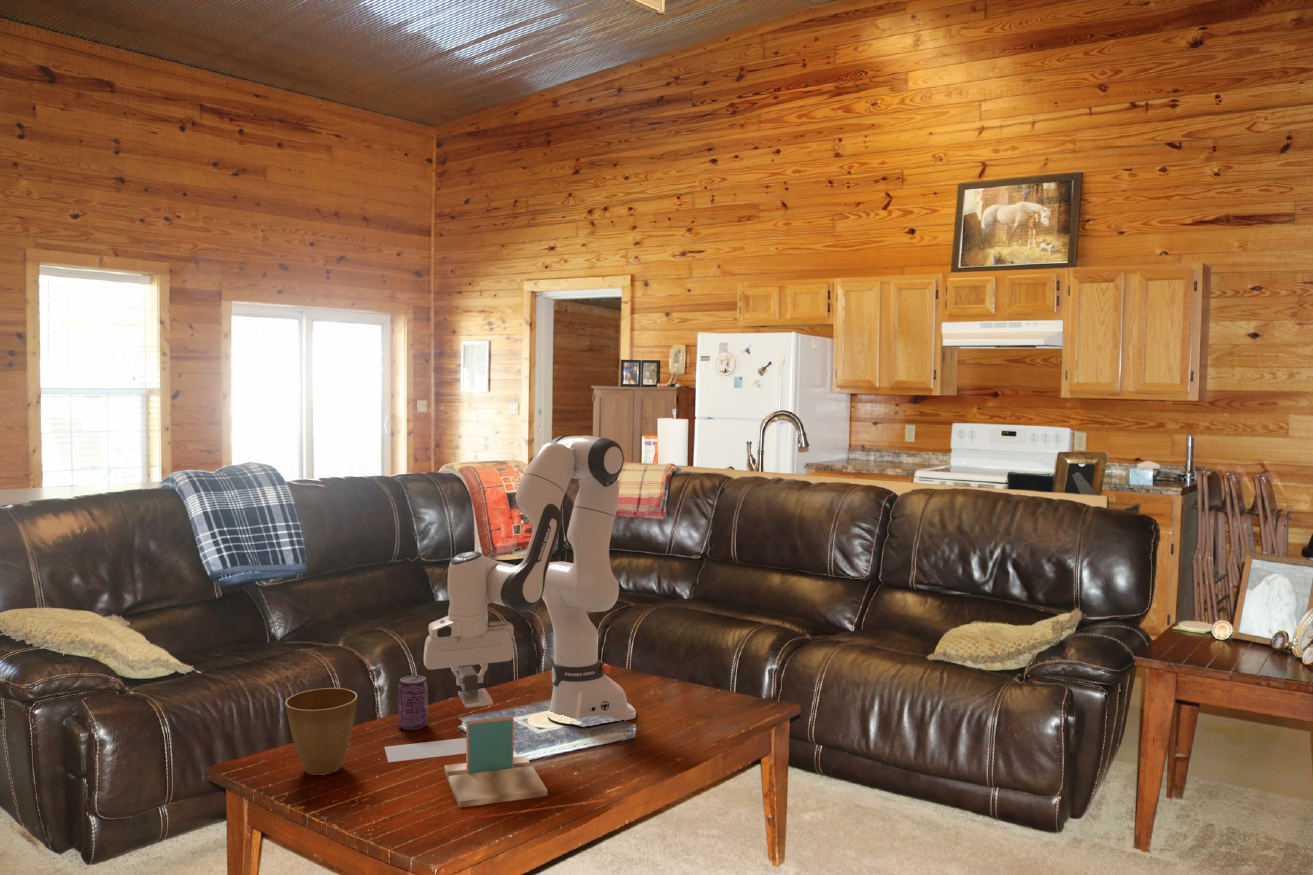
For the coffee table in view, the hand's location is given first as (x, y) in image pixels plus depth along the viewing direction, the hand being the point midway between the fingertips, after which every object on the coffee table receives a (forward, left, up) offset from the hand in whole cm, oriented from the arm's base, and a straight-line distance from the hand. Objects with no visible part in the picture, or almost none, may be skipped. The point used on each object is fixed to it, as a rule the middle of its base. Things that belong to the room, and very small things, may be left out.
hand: (469, 683), depth 232 cm
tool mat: (+7, -3, -16) cm, 18 cm away
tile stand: (-2, +21, -16) cm, 26 cm away
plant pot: (+32, +1, -16) cm, 36 cm away
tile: (-2, +16, -16) cm, 22 cm away
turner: (0, +3, -2) cm, 3 cm away
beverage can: (+10, -21, -16) cm, 29 cm away
